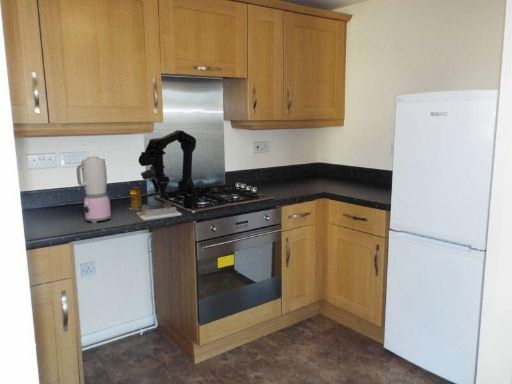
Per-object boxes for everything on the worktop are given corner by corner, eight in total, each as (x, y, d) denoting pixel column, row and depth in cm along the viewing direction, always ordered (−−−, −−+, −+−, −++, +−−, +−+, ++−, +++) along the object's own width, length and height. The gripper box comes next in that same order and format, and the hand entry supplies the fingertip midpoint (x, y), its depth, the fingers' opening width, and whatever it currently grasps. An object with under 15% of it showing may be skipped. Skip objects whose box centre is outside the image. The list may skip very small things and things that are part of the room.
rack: (173, 209, 236) (173, 201, 235) (176, 211, 231) (176, 203, 230) (136, 214, 227) (136, 205, 226) (139, 216, 221) (138, 207, 220)
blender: (101, 216, 224) (96, 155, 218) (116, 219, 217) (111, 156, 211) (74, 222, 211) (67, 158, 205) (89, 226, 205) (83, 159, 198)
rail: (174, 212, 227) (174, 206, 226) (176, 213, 224) (176, 207, 224) (144, 216, 220) (144, 210, 219) (146, 217, 217) (145, 211, 216)
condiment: (127, 209, 239) (126, 188, 237) (137, 206, 247) (136, 185, 244) (138, 210, 236) (136, 188, 234) (147, 207, 244) (146, 186, 241)
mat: (177, 212, 230) (177, 210, 230) (181, 215, 223) (181, 214, 223) (139, 216, 221) (139, 215, 221) (143, 220, 214) (143, 219, 214)
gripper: (137, 163, 221) (139, 192, 224) (146, 167, 205) (148, 198, 208) (158, 161, 226) (160, 190, 229) (169, 165, 210) (170, 196, 213)
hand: (159, 194), depth 220 cm, fingers open, 9 cm apart
